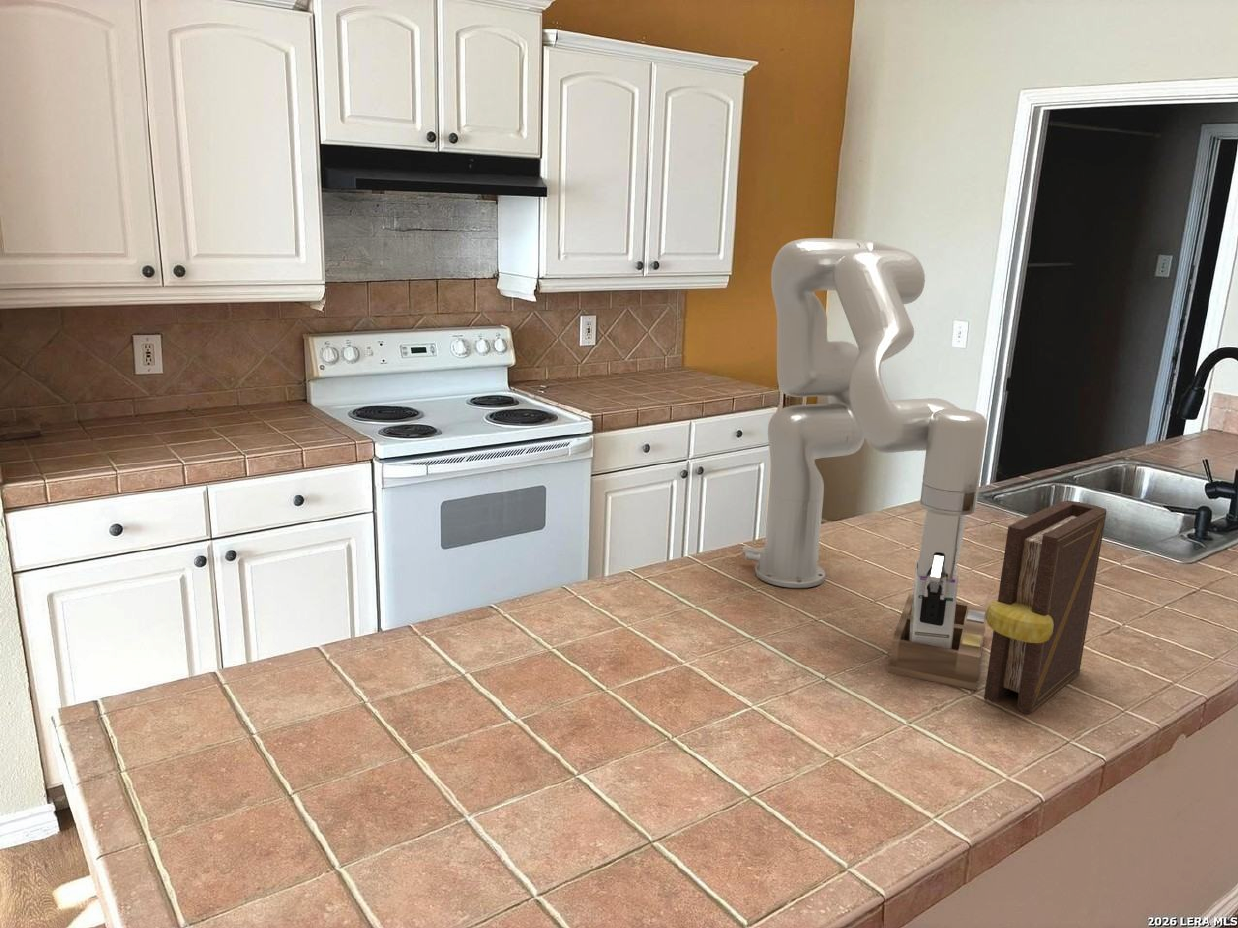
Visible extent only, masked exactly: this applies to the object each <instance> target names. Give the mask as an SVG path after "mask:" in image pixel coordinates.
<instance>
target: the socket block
mask: <svg viewBox="0 0 1238 928" xmlns="http://www.w3.org/2000/svg"><path fill="white" fill-rule="evenodd" d="M905 601H906V602H905V603H904V606H903V609H902V612H901V614H900V617H899V620H898V623H897V626H896V628H895V631H894V633H893V635H892V636H893V637H892V639H891V644H890V645H891V646H890V654H889V664H888V673H891V674H896V675H900V676H904V677H909V678H915V679H920V680H925V681H930V682H935V683H939V684H943V685H949V686H954V687H958V688H962V689H968V690H972V691H977V686H978V678H979V673H980V672H979V671H980V666H981V658H982V651H983V645H984V639H985V630H986V625H987V620H986V614H987V609H988V607H989V606H982V605H977V604H971V603H965V602H959V601H956V608H955V619H954V629H953V639H952V648H951V649H948V648H943V647H938V646H933V645H928V644H922V643H917V642H912V641H909V632H910V622H911V611H912V601H913V593H908V596H907V599H906V600H905Z"/></svg>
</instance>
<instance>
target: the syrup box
mask: <svg viewBox="0 0 1238 928" xmlns="http://www.w3.org/2000/svg"><path fill="white" fill-rule="evenodd" d="M918 563H919V558H917V559H916V563H915V573H914V579H913V590H912V591H913V592H912V594H913V601H912V611H911V622H910V632H909V641H912V642H917V643H922V644H928V645H933V646H938V647H943V648H948V649H951V648H952V639H953V629H954V619H955V608H956V602H957V596H958V595H957V594H958V586H959V573H958V569H957V567H956V569H955V573H954V576H953V579H952V580H951V581H950V582H947V586H946V592H945V598H946V607H945V615H944V623H943V625H942V626H938V625H933V624H927V623H922V622H920V611H921V603H922V595H924V591H925V584H926V576H927V574H926V576H925V577H924V576H921V578H920V577H918V575H917V569H918ZM943 564H944V561H943ZM930 575H931V574H930ZM941 577H945V575H942V574H941ZM942 584H943V583H940V585H941V586H942Z"/></svg>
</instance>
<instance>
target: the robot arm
mask: <svg viewBox="0 0 1238 928" xmlns="http://www.w3.org/2000/svg"><path fill="white" fill-rule="evenodd" d="M770 275H771V276H770V283H771V292H772V296H773V300H774V305H775V312H776V323H777V325H776V327H777V328H776V375H777V384H778V386H779V387H778V388H779V389H780V391H781V392H782V393H783V394H784V395H787V396H789V397H793V398H810V397H811V398H813V397H827V400H828V403H813V404H811V403H810V404H796V405H795V404H794V405H789V406H785V407H782V408H780V409H778V410H777V411H776V412H775V413H773V415H772V416H771V418H769V422H768V425H767V440H768V447H769V448H768V449H769V461H770V466H769V467H770V470H769V471H770V473H769V474H770V475H769V476H770V478H769V490H768V491H769V492H768V493H769V494H768V507H767V516H766V517H767V519H766V531H765V532H766V534H765V545H764V546H761V547H760V548H759V547H758V548H757V547H754V546H749V545H743V547H742V550H741V551H742V552H741V553H742V554H741V555H742V556H744V559H745V560H746V561H754V562H757V564H756V565H755V567H754V573H755V575H756V576H757V578H758V579H760V580H761V581H763V582H765V583H767V584H771V585H774V586H777V587H783V588H791V589H806V588H813V587H817V586H818V585H820V584H822V583H824V581H825V580H826V571H825V569H824V568H822V566H820V565H818V562H819V561H818V560H819V552H820V551H819V548H820V539H821V538H820V537H821V527H822V515H823V505H824V504H823V503H824V494H825V491H824V490H825V485H824V484H825V483H824V479H823V476H822V474H821V472H820V470H819V468H818V467H817V465H816V461H815V460H818V459H822V458H823V459H824V458H825V459H826V458H834V457H844V456H845V457H846V456H850V455H853V454H855V453H857V452H858V451H859V450H860V449H861V447H862V446H863V444H864V442H865V441H866V443H867V444H868V445H869V446H870V447H871V448H872V449H874V450H875V451H877V452H880V453H884V454H890V453H892V454H893V453H904V452H906V453H907V452H913V451H914V452H915V451H917V452H919V451H922V452H923V451H924V452H925V457H924V463H923V464H924V466H923V475H922V482H921V491H920V492H921V493H920V499H919V505H920V506H921V507H922V508H923V509H925V510H926V512H925V516H924V521H923V526H922V534H921V542H920V550H919V556H918V559H919V563H918V569H917V575H918V577H920V578H921V576H924V577H925V576H926V574H927V576H926V584H925V591H924V595H922V603H921V611H920V622H922V623H927V624H933V625H938V626H942V625H943V623H944V615H945V607H946V598H945V592H946V586H947V582H950V581H951V580H952V579H953V576H954V573H955V569H956V568H957V565H958V562H959V558H960V554H961V549H962V543H963V537H964V531H965V524H966V518H967V515H972V514H974V513H976V511H977V504H978V498H979V497H978V496H979V495H978V494H979V491H980V490H979V488H980V480H981V472H982V466H983V458H984V449H985V441H986V435H987V434H986V433H987V428H988V427H987V426H988V424H987V420H986V417H985V416H984V415H983V414H981V413H979V412H977V411H974V410H969V409H963V408H960V407H958V406H956V405H954V404H953V403H951V402H949V401H947V400H945V399H941V398H937V397H936V398H933V397H930V398H909V399H894V400H893V399H892V400H890V398H889V396H888V393H887V391H886V389H885V386H884V383H883V379H882V374H881V367H882V363H883V362H885V361H887V360H888V359H890V358H892V357H894V356H895V355H898V354H899V353H901V352H902V351H903V350H905V349H906V348H907V347H908V346H909V345H910V344H911V342H912V341H913V339H914V335H915V329H914V326H913V324H912V322H911V319H910V317H909V314H908V312H907V310H906V307H905V305H908V304H911V303H914V302H915V301H916V300H918V298H920V297H921V295H922V293H923V291H924V288H925V282H926V279H925V278H926V275H925V270H924V267H923V264H921V262H920V260H919V259H918V257H916V255H914V254H913V253H912V252H910V251H908V250H905V249H901V248H899V247H894V246H891V245H887V244H884V243H881V242H877V241H873V240H869V239H862V238H861V239H859V238H832V237H831V238H829V237H811V238H809V237H808V238H800V239H796V240H792V241H790V242H787V243H786V244H784V245H783V246H781V248H780V249H779V250H778V252H777V253H776V255H775V257H774V259H773V262H772V266H771V274H770ZM816 291H835V292H836V293H837V295H838V299H839V302H840V303H841V306H842V308H843V312H844V314H845V317H846V319H847V322H848V324H849V327H850V329H851V333H852V336H853V337H854V341H855V342H856V345H857V346H856V345H855V344H853V343H851V342H848V341H843V340H842V341H841V340H840V341H835V340H834V341H829V340H828V317H827V313H826V310H825V307H824V306H823V304H822V302H821V300H820V299H819V297H818V296H817V295H816V294H815V292H816ZM943 561H944V564H943ZM930 574H931V575H930ZM941 574H942V575H945V577H941ZM940 583H943V584H942V586H941V585H940Z"/></svg>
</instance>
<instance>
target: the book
mask: <svg viewBox="0 0 1238 928" xmlns="http://www.w3.org/2000/svg"><path fill="white" fill-rule="evenodd" d="M1107 512H1108V511H1107V509H1106V508H1103V507H1101V506H1098V505H1093V504H1090V503H1085V502H1081V501H1076V500H1075V501H1074V500H1059V502H1056V503H1054V504H1052V505H1050V506H1048V507H1046V508H1043V509H1042V510H1039V511H1037V512H1035V513H1033V514H1031V515H1028V516H1027V517H1024V518H1023V519H1020V520H1018V521H1016V522H1013V523H1012V524H1010V525H1008V526H1007V534H1006V540H1005V549H1004V555H1003V563H1002V569H1001V570H1002V571H1001V575H1000V581H999V582H1000V583H999V589H998V590H999V591H998V596H997V597H998V598H997V600H994V601H993V602H990V604H989V605H988V606H987V607H988V609H987V614H986V624H987V625H988V626H989V628H990V629H992V630H993V632H992V639H991V645H990V653H989V659H988V667H987V675H986V681H985V682H986V683H985V689H984V695H983V697H984V699H985V700H987V701H989V702H991V703H998V702H999V701H1001V700H1002V699H1003V698H1005V697H1006V696H1007V695H1009V694H1010V693H1012V692H1015V693H1017V694H1018V698H1017V705H1016V710H1015V711H1017V712H1018V713H1021V714H1023V715H1024V716H1025V715H1026V716H1031V715H1032V713H1034V712H1035V711H1037V710H1038V709H1039V708H1041V706H1043V705H1044V704H1045V703H1046V702H1047V701H1049V700H1050V699H1052V697H1054V696H1055V695H1056V694H1057V693H1058V692H1061V690H1062V689H1064V688H1065V687H1066V686H1067V685H1068V684H1070V683H1071V682H1072V681H1074V680H1075V679H1076V678H1077V677H1079V676H1080V673H1081V666H1082V659H1083V652H1084V646H1085V642H1086V635H1087V630H1088V623H1089V618H1090V611H1091V606H1092V600H1093V594H1094V589H1095V582H1096V576H1097V570H1098V564H1099V559H1100V553H1101V547H1102V541H1103V536H1104V535H1103V534H1104V528H1105V523H1106V518H1107V517H1106V516H1107Z"/></svg>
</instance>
